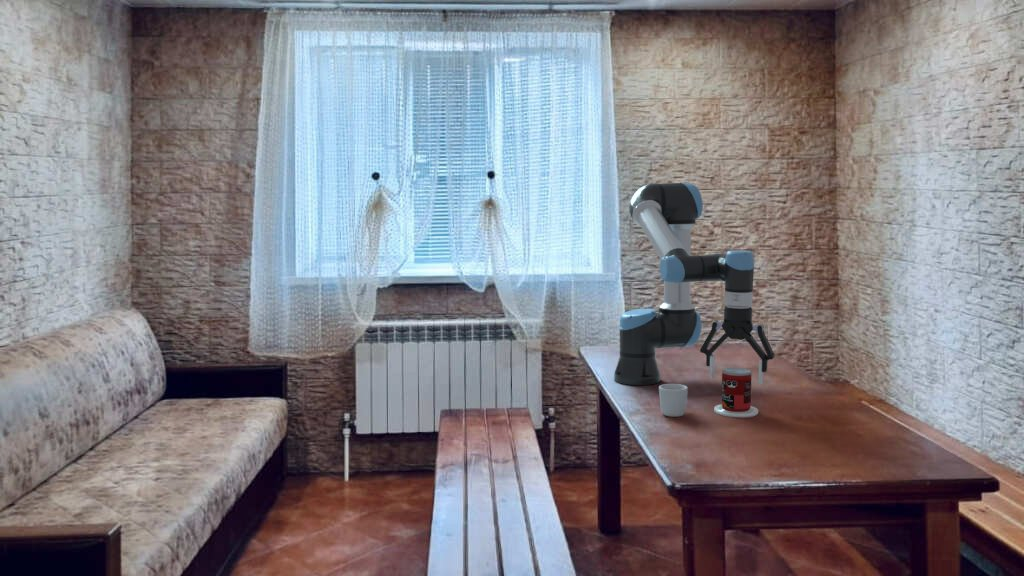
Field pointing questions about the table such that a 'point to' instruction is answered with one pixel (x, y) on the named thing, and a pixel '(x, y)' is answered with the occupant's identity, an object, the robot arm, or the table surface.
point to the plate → (749, 413)
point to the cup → (673, 399)
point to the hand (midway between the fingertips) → (735, 380)
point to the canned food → (736, 389)
